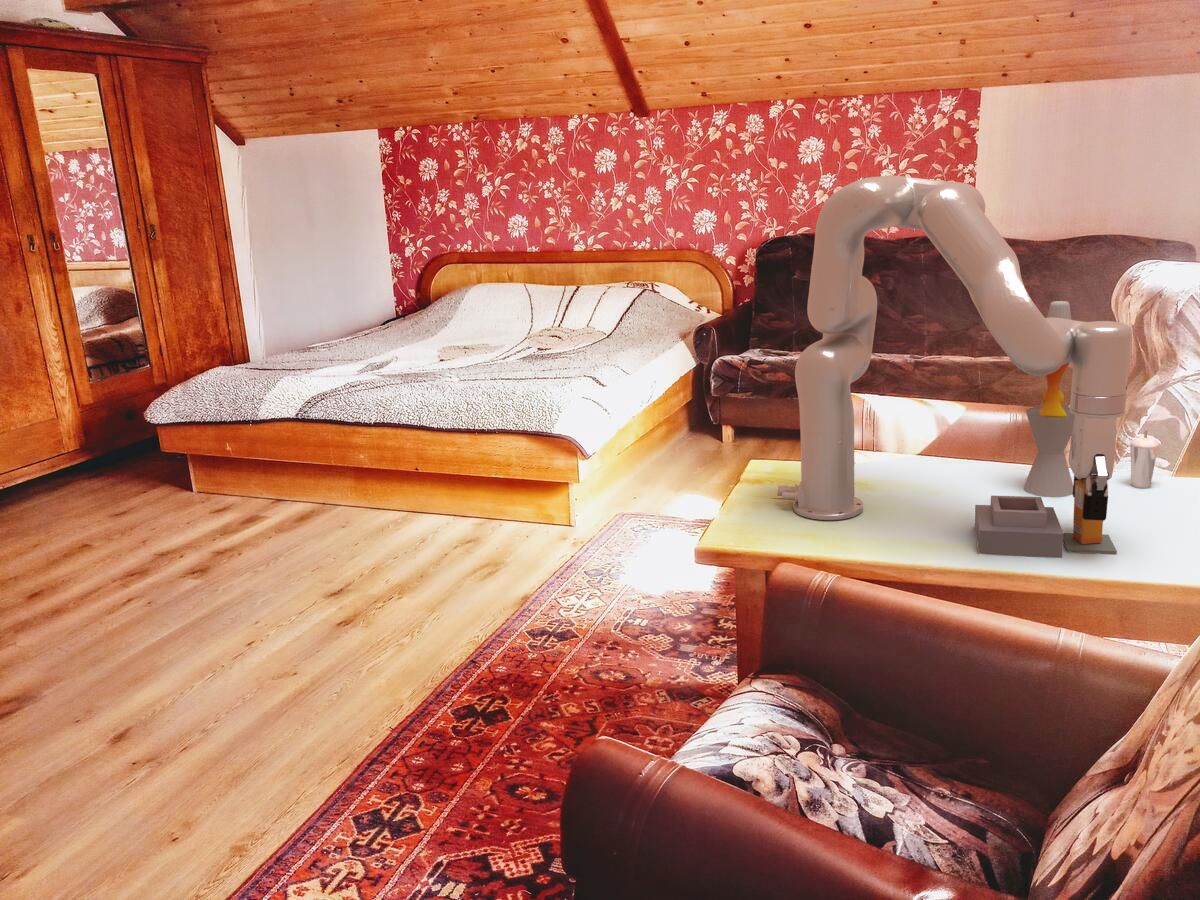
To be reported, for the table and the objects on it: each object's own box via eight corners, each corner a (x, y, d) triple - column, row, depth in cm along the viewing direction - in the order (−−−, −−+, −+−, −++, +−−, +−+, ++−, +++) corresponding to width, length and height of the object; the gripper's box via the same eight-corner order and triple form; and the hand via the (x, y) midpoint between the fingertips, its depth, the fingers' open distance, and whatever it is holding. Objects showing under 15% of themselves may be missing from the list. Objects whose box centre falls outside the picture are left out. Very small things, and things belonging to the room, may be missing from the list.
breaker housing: (978, 553, 148) (980, 515, 146) (974, 526, 159) (975, 490, 157) (1061, 557, 144) (1064, 518, 143) (1051, 529, 155) (1054, 493, 153)
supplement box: (1091, 536, 150) (1096, 477, 147) (1102, 544, 147) (1107, 484, 144) (1070, 537, 150) (1074, 478, 148) (1080, 545, 147) (1085, 485, 144)
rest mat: (1066, 551, 146) (1066, 549, 146) (1060, 535, 153) (1060, 532, 152) (1116, 554, 144) (1116, 551, 144) (1108, 537, 150) (1108, 534, 150)
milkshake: (1155, 481, 173) (1160, 430, 170) (1154, 490, 169) (1159, 437, 166) (1127, 479, 175) (1132, 428, 173) (1125, 488, 171) (1130, 435, 168)
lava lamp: (1079, 498, 168) (1093, 304, 158) (1024, 496, 171) (1034, 306, 161) (1071, 482, 176) (1084, 297, 167) (1019, 481, 179) (1029, 299, 169)
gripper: (1062, 390, 151) (1055, 489, 156) (1079, 417, 135) (1070, 527, 140) (1114, 390, 149) (1105, 491, 153) (1137, 418, 133) (1126, 529, 138)
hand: (1088, 508), depth 147 cm, fingers open, 9 cm apart
